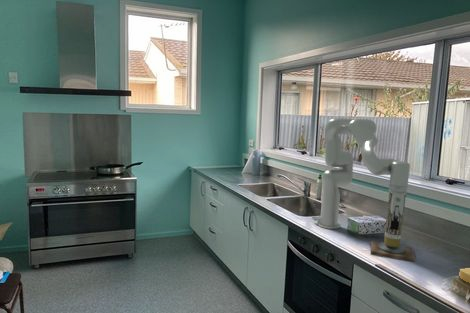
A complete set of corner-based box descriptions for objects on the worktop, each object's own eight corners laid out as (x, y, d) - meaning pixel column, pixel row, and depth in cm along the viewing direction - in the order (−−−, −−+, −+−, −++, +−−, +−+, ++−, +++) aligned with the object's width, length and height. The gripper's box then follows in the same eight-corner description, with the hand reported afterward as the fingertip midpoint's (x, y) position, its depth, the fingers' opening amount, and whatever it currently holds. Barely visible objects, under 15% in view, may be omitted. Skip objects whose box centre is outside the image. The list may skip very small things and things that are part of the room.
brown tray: (370, 254, 162) (371, 248, 162) (370, 243, 176) (370, 238, 176) (414, 261, 156) (415, 256, 156) (411, 250, 170) (411, 245, 170)
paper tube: (386, 241, 171) (392, 189, 168) (401, 245, 167) (407, 192, 164) (381, 245, 166) (387, 191, 163) (397, 249, 161) (403, 194, 158)
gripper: (409, 193, 154) (404, 234, 156) (405, 186, 170) (401, 223, 172) (390, 191, 156) (385, 231, 158) (388, 184, 172) (384, 220, 174)
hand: (393, 226), depth 165 cm, fingers closed on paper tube, 6 cm apart
